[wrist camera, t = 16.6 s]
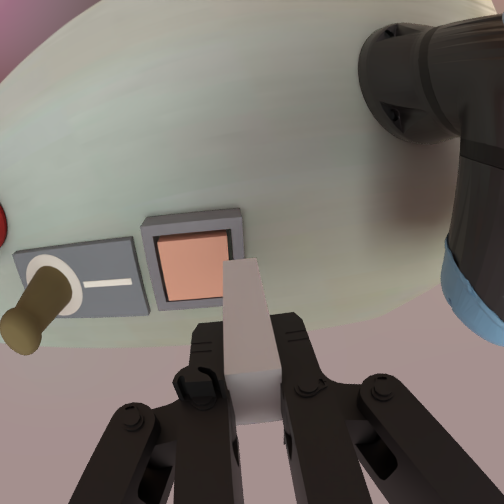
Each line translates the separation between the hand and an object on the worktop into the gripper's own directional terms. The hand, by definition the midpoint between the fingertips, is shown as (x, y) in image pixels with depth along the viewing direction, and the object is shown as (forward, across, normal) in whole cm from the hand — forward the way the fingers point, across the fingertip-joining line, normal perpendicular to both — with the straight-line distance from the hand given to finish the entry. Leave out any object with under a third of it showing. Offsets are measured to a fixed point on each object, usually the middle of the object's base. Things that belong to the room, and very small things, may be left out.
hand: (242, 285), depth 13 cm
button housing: (+18, +5, +7) cm, 20 cm away
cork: (+16, +24, +8) cm, 30 cm away
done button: (+17, +5, +7) cm, 19 cm away
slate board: (+17, +21, +8) cm, 28 cm away
